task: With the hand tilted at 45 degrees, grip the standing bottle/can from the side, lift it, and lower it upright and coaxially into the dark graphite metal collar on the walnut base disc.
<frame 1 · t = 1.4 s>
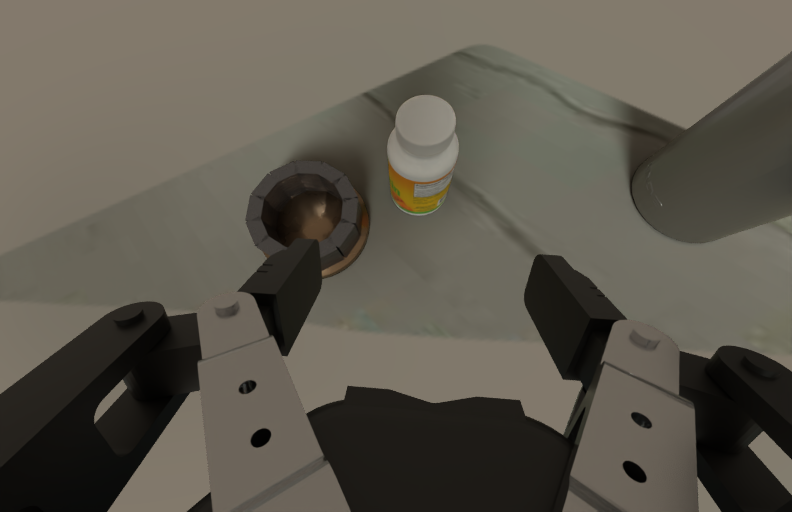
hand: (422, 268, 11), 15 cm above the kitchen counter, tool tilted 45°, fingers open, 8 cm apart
collar mount: (316, 227, 28), on the kitchen counter
supplement bottle: (418, 192, 29), on the kitchen counter
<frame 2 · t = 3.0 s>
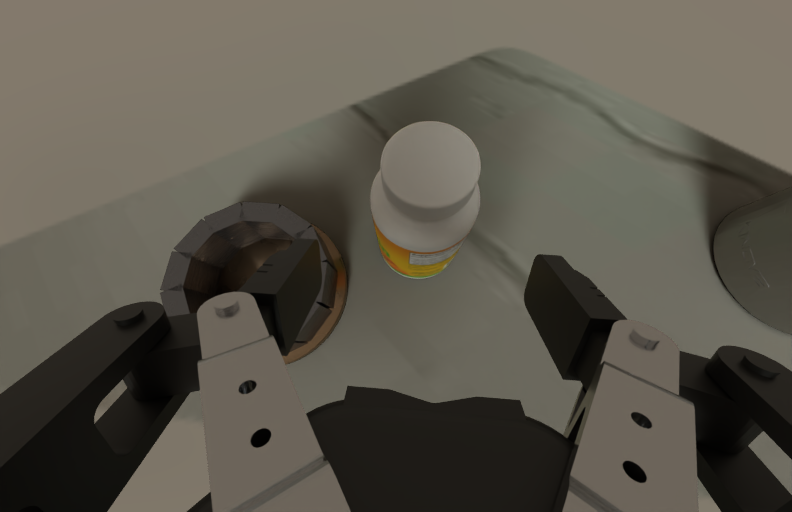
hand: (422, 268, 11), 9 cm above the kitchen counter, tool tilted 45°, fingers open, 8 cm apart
collar mount: (274, 289, 20), on the kitchen counter
supplement bottle: (417, 243, 21), on the kitchen counter
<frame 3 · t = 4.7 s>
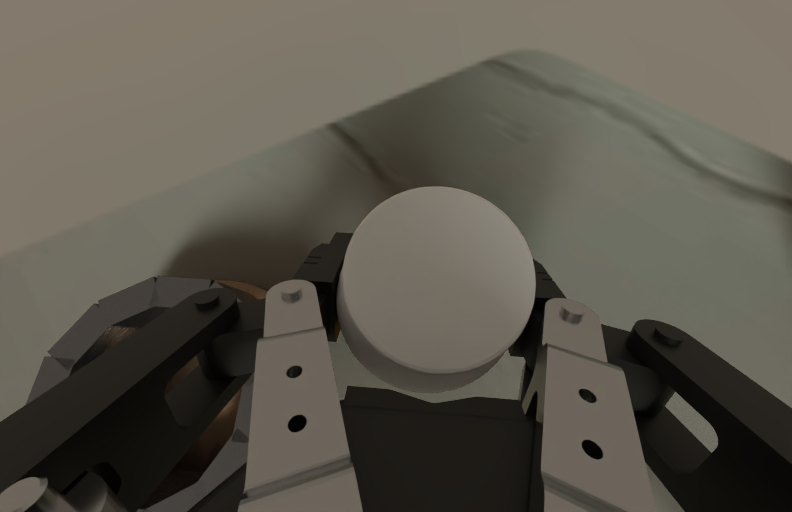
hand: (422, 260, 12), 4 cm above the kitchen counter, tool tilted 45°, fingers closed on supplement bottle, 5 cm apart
collar mount: (216, 384, 15), on the kitchen counter
supplement bottle: (415, 316, 16), on the kitchen counter, touching gripper
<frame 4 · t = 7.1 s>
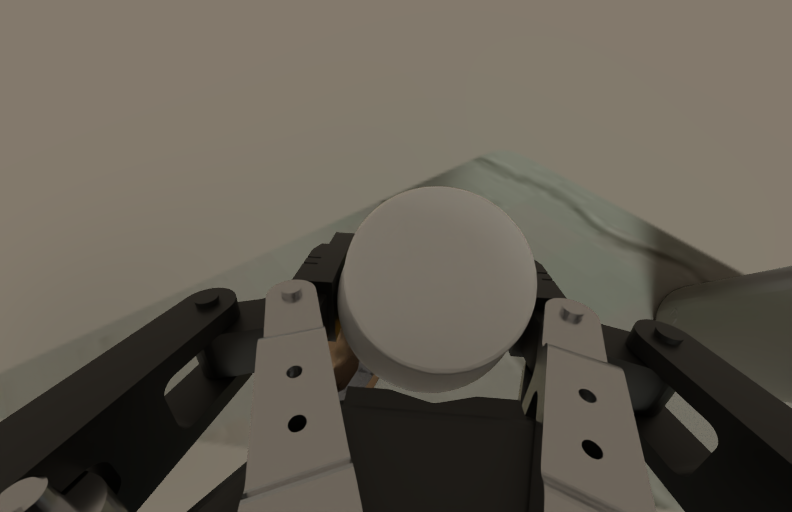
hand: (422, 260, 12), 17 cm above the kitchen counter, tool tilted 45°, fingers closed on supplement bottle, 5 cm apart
collar mount: (330, 352, 27), on the kitchen counter
supplement bottle: (415, 316, 16), point 13 cm above the kitchen counter, touching gripper
when the fingers open (7 cm above the kitchen counter, at t = 9.5 s): supplement bottle drops 1 cm, resting on collar mount.
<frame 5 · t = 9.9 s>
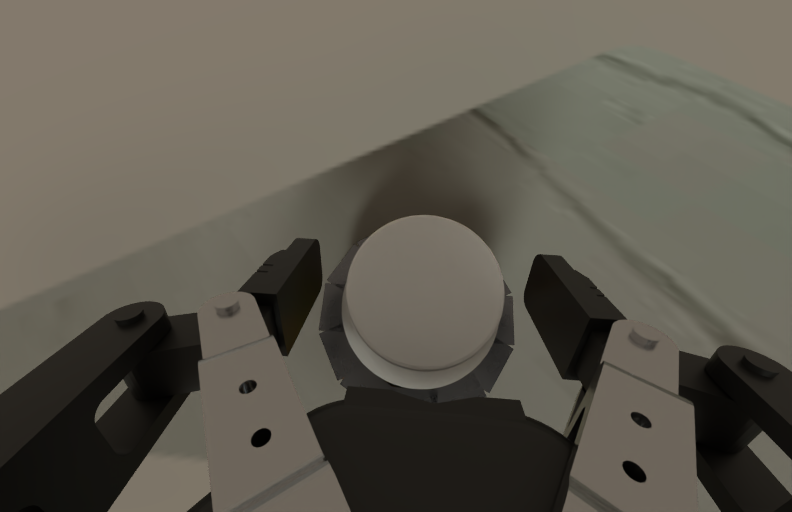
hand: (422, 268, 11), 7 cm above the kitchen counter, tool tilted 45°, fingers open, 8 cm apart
collar mount: (413, 320, 18), on the kitchen counter
supplement bottle: (414, 322, 17), point 1 cm above the kitchen counter, touching collar mount
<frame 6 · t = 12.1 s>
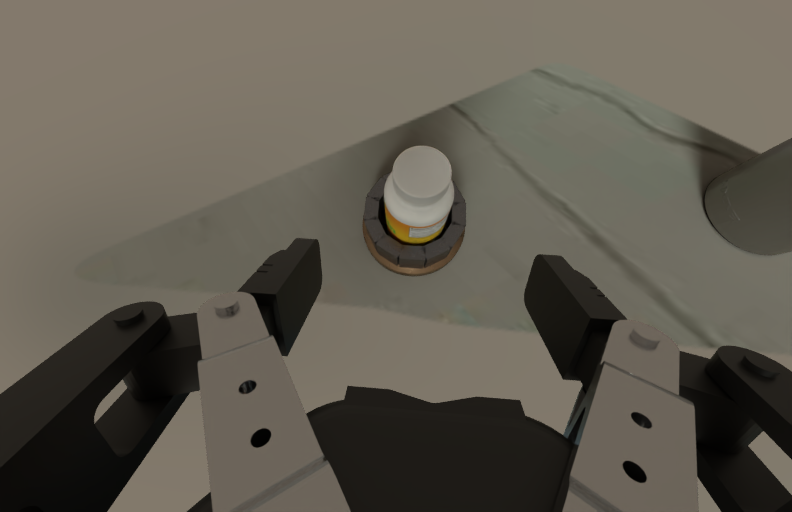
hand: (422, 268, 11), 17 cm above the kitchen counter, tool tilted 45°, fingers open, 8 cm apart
collar mount: (413, 227, 30), on the kitchen counter
supplement bottle: (414, 226, 29), point 1 cm above the kitchen counter, touching collar mount
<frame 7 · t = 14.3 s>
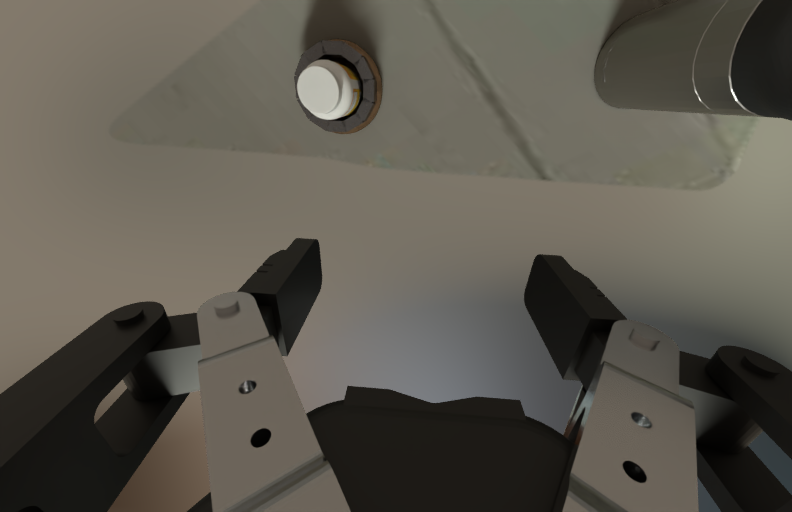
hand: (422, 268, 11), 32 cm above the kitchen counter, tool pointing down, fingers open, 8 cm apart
collar mount: (342, 89, 37), on the kitchen counter
supplement bottle: (341, 91, 36), point 1 cm above the kitchen counter, touching collar mount
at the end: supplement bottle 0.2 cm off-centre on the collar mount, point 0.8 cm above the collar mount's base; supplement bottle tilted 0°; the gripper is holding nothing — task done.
